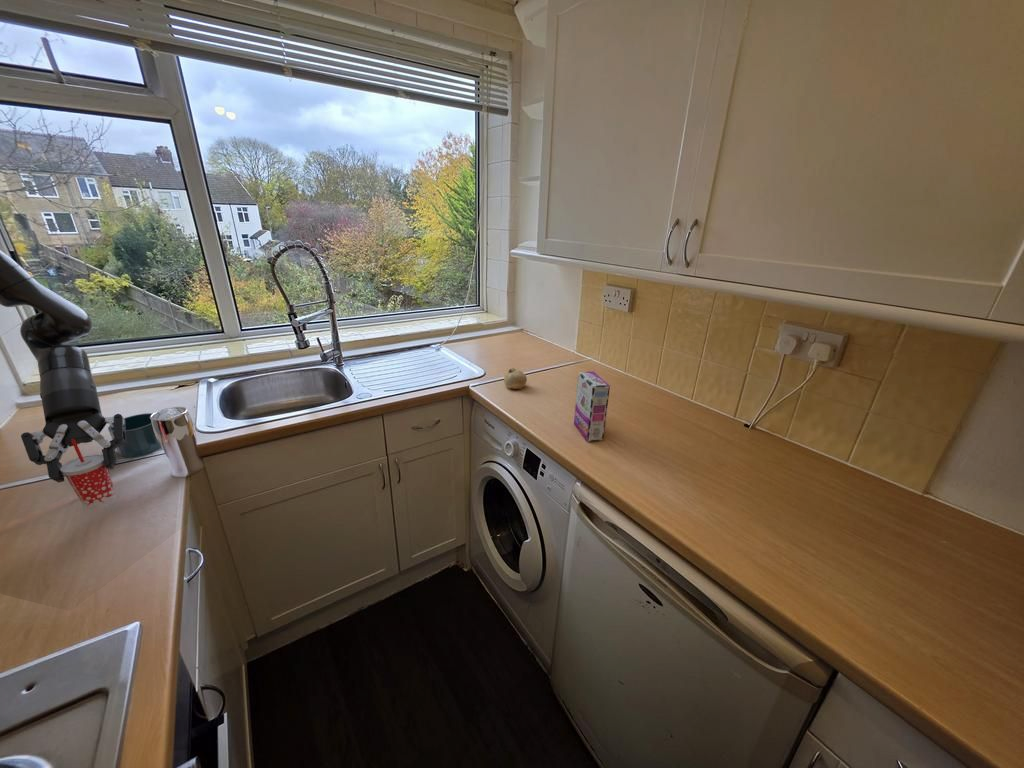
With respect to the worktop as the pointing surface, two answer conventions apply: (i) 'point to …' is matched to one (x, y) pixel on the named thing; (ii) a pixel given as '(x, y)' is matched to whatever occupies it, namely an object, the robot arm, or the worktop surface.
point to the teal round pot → (137, 436)
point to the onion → (515, 379)
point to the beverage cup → (89, 479)
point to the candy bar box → (591, 406)
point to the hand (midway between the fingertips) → (85, 474)
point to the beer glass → (177, 440)
